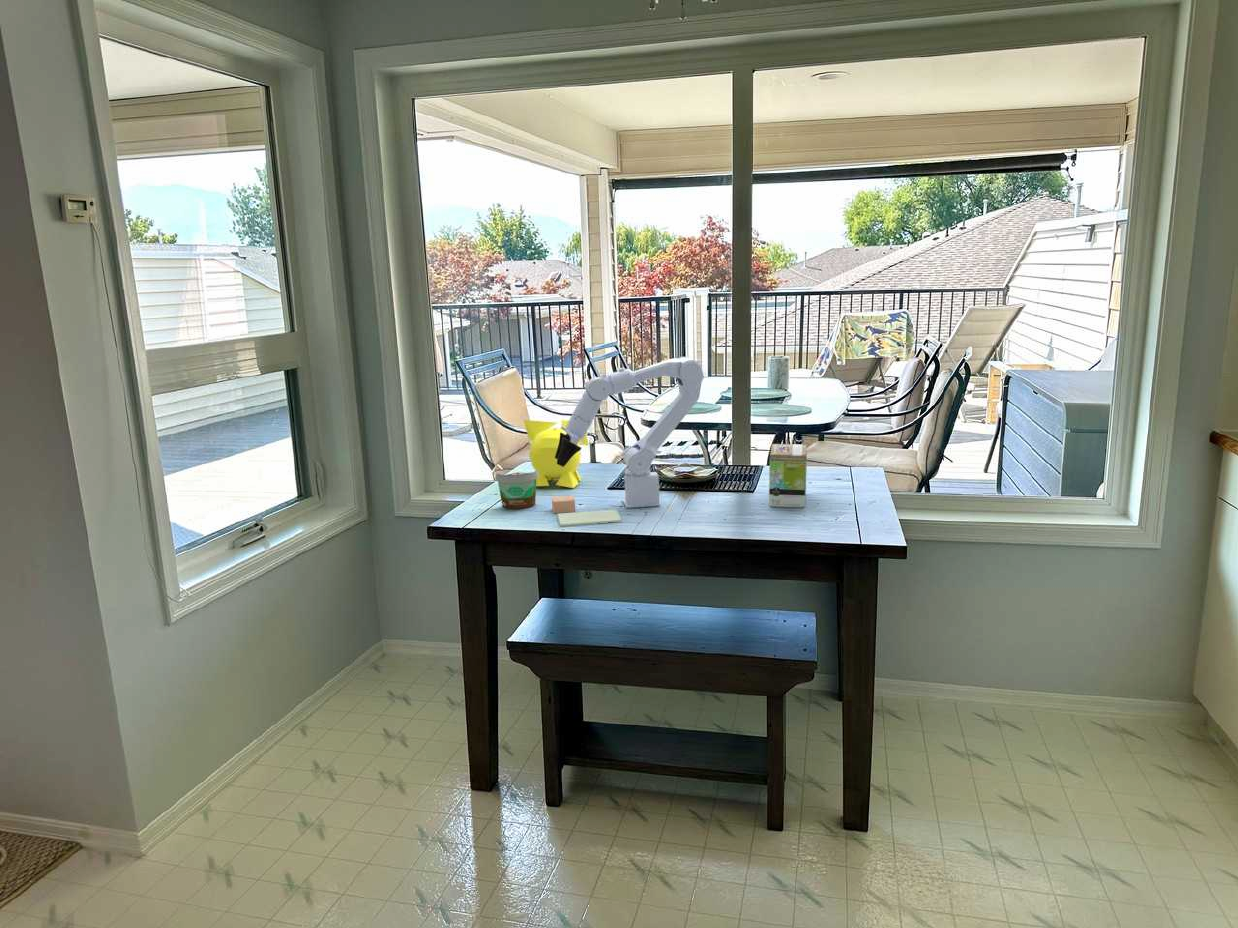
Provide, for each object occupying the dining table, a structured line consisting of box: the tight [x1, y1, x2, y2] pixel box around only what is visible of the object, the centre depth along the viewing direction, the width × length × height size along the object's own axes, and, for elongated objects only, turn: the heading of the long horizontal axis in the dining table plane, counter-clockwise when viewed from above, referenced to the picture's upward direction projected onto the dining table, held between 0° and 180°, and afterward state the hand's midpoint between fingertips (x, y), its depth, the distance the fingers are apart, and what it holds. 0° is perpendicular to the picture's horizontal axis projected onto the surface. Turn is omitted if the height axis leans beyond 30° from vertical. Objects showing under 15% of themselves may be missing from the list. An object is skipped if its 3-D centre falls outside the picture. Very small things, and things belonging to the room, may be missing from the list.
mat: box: [557, 509, 622, 528], centre depth 233 cm, size 16×10×1 cm, turn 97°
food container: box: [494, 469, 539, 511], centre depth 245 cm, size 12×6×10 cm, turn 101°
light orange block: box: [551, 495, 576, 514], centre depth 242 cm, size 6×4×4 cm
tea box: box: [768, 443, 808, 508], centre depth 242 cm, size 15×10×15 cm, turn 168°
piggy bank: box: [523, 419, 589, 489], centre depth 271 cm, size 20×20×19 cm
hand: (559, 462), depth 239 cm, fingers open, 7 cm apart
